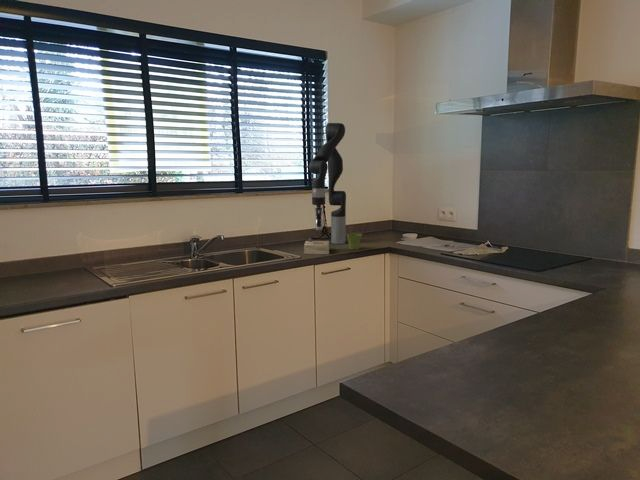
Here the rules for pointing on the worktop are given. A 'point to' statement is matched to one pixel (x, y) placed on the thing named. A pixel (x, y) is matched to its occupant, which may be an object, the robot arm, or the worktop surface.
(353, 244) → the plant pot
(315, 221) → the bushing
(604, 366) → the worktop surface
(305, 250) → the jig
